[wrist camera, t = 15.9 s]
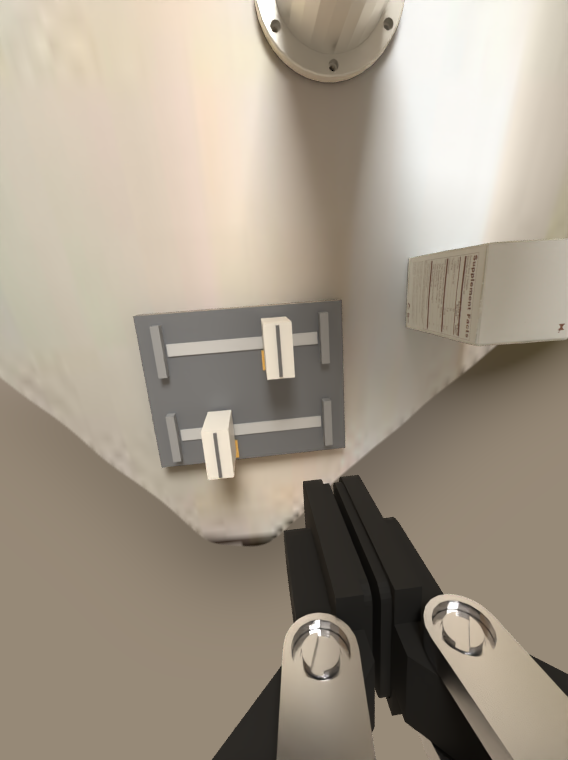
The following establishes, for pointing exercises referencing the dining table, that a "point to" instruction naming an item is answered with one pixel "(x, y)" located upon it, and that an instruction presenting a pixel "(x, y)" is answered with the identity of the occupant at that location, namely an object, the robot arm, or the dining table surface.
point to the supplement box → (491, 292)
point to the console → (243, 379)
